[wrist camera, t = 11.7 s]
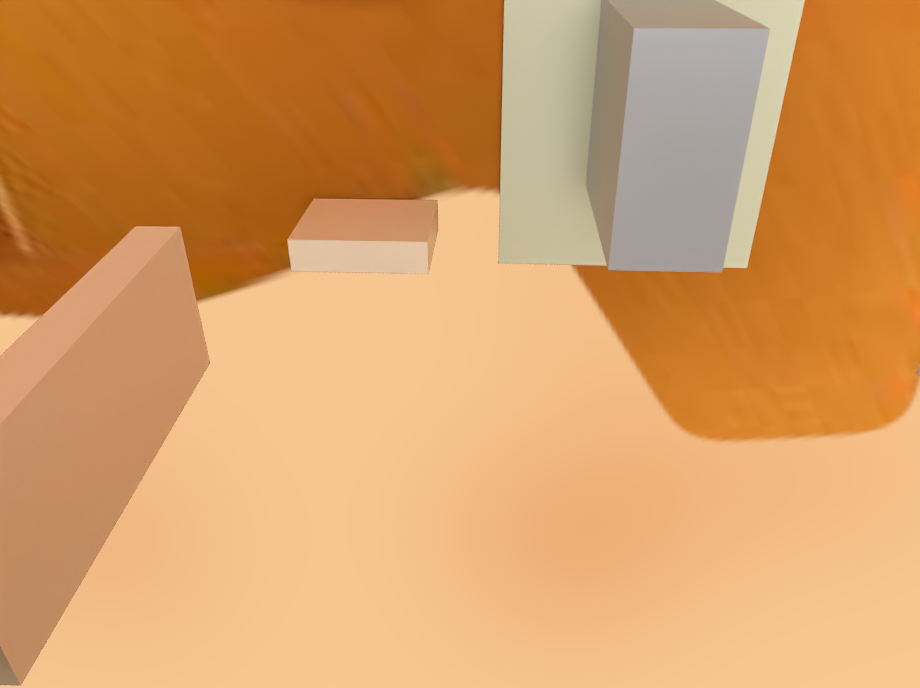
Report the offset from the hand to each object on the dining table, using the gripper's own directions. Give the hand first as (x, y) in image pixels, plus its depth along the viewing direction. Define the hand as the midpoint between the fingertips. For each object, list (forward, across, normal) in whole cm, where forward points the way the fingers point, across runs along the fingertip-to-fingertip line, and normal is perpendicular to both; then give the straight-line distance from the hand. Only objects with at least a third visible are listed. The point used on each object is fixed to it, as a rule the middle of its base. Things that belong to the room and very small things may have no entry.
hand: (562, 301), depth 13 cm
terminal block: (+22, +5, -2) cm, 22 cm away
